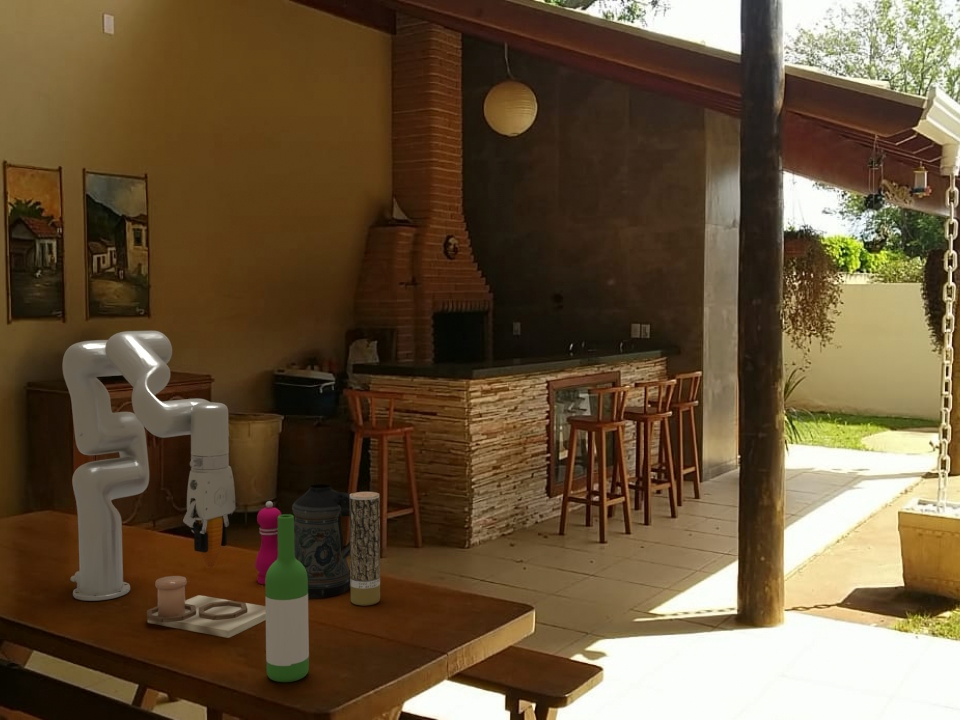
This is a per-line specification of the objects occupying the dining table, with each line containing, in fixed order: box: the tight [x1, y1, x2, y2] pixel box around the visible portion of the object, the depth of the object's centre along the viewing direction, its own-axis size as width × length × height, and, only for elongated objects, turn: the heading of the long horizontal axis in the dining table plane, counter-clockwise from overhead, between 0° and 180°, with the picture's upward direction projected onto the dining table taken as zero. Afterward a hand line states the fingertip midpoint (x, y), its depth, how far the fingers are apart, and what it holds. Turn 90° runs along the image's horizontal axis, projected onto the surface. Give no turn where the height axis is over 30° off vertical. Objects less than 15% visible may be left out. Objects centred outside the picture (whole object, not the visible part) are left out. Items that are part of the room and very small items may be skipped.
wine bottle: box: [264, 513, 310, 683], centre depth 176 cm, size 8×8×30 cm
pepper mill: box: [254, 500, 282, 586], centre depth 235 cm, size 7×7×20 cm
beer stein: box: [291, 484, 351, 599], centre depth 230 cm, size 16×19×25 cm
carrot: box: [199, 516, 223, 569], centre depth 199 cm, size 5×5×15 cm
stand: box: [146, 594, 266, 639], centre depth 207 cm, size 23×18×2 cm
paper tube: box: [349, 491, 381, 607], centre depth 219 cm, size 7×7×25 cm
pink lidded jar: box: [154, 575, 188, 617], centre depth 206 cm, size 6×6×8 cm
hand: (210, 547), depth 200 cm, fingers closed on carrot, 4 cm apart
